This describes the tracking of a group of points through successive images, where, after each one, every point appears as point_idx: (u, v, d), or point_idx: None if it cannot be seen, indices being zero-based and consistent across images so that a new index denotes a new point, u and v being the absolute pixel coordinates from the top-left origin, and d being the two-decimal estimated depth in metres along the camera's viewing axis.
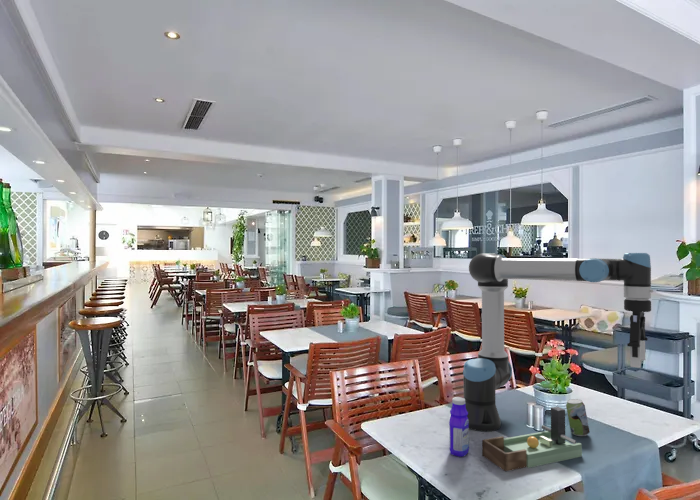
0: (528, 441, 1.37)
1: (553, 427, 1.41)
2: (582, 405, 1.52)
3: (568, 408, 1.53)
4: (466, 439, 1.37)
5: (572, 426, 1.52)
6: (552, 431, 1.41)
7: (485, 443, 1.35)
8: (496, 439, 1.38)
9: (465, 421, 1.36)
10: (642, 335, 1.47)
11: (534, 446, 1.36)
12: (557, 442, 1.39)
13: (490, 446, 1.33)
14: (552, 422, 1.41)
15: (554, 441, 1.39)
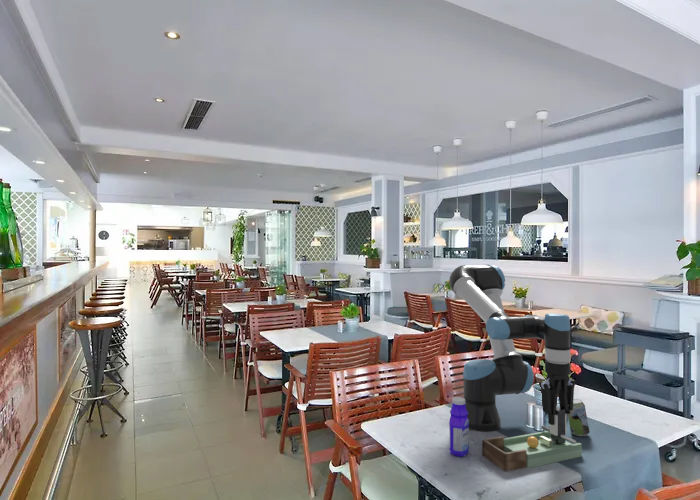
0: (528, 441, 1.37)
1: None
2: (582, 405, 1.52)
3: None
4: (466, 439, 1.37)
5: (572, 426, 1.52)
6: None
7: (485, 443, 1.35)
8: (496, 439, 1.38)
9: (465, 421, 1.36)
10: None
11: (534, 446, 1.36)
12: (557, 442, 1.39)
13: (490, 446, 1.33)
14: None
15: (554, 441, 1.39)
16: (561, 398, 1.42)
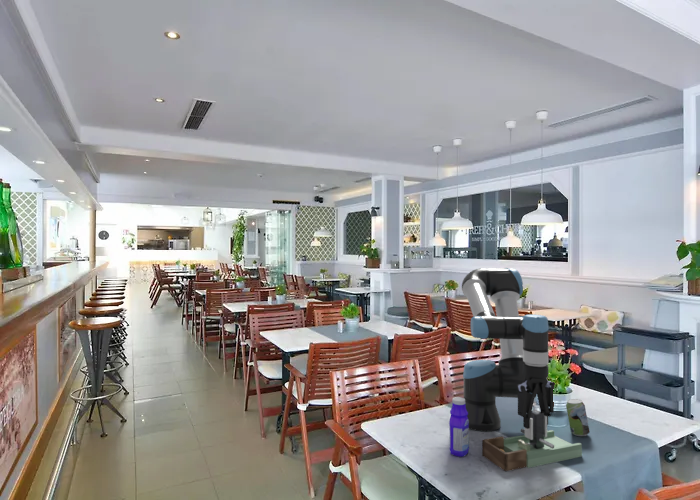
0: None
1: None
2: (582, 405, 1.52)
3: (568, 408, 1.53)
4: (466, 439, 1.37)
5: (572, 426, 1.52)
6: None
7: (485, 443, 1.35)
8: (496, 439, 1.38)
9: (465, 421, 1.36)
10: None
11: None
12: (535, 446, 1.36)
13: (490, 446, 1.33)
14: None
15: (532, 445, 1.36)
16: (540, 401, 1.39)
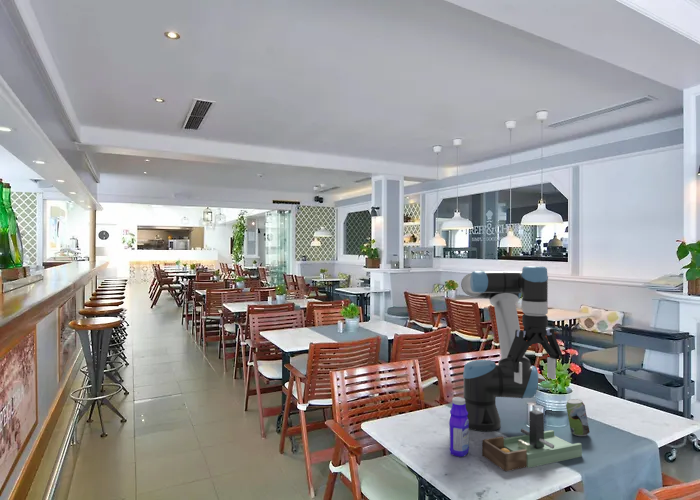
0: None
1: (531, 431, 1.38)
2: (582, 405, 1.52)
3: (568, 408, 1.53)
4: (466, 439, 1.37)
5: (572, 426, 1.52)
6: (531, 435, 1.38)
7: (485, 443, 1.35)
8: (496, 439, 1.38)
9: (465, 421, 1.36)
10: None
11: None
12: (535, 446, 1.36)
13: (490, 446, 1.33)
14: (530, 426, 1.38)
15: (532, 445, 1.36)
16: (546, 348, 1.40)
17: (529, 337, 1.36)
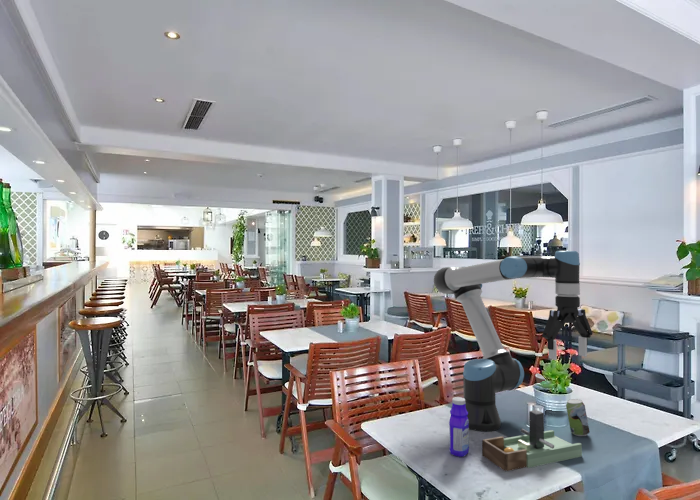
0: (509, 447, 1.34)
1: (531, 431, 1.38)
2: (582, 405, 1.52)
3: (568, 408, 1.53)
4: (466, 439, 1.37)
5: (572, 426, 1.52)
6: (531, 435, 1.38)
7: (485, 443, 1.35)
8: (496, 439, 1.38)
9: (465, 421, 1.36)
10: None
11: None
12: (535, 446, 1.36)
13: (490, 446, 1.33)
14: (530, 426, 1.38)
15: (532, 445, 1.36)
16: (577, 327, 1.50)
17: (562, 316, 1.46)
